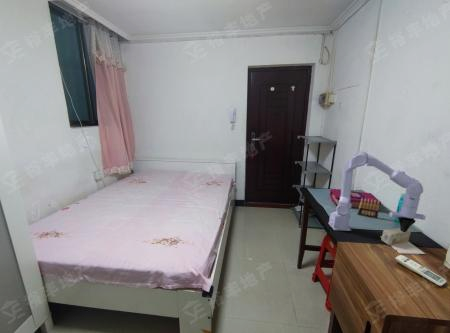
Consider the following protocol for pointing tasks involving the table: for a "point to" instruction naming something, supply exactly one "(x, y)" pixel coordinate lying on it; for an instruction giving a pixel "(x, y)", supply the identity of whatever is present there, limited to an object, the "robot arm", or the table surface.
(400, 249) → the mat
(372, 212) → the ammunition clip
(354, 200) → the book
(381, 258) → the table surface
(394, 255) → the table surface
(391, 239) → the skincare box
